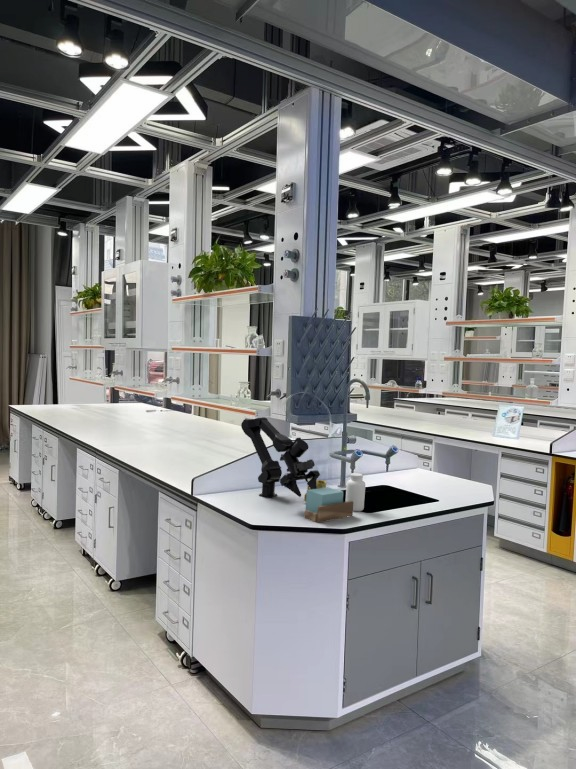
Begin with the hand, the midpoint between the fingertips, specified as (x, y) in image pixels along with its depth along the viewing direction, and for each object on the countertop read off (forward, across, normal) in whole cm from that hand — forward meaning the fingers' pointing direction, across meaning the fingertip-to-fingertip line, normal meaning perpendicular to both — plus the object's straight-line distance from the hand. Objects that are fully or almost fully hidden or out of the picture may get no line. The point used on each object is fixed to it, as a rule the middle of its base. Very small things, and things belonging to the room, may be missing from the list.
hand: (308, 495), depth 237 cm
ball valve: (-1, +13, +11) cm, 17 cm away
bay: (+13, 0, -5) cm, 14 cm away
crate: (+11, 0, -3) cm, 11 cm away
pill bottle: (+11, +19, -2) cm, 22 cm away
